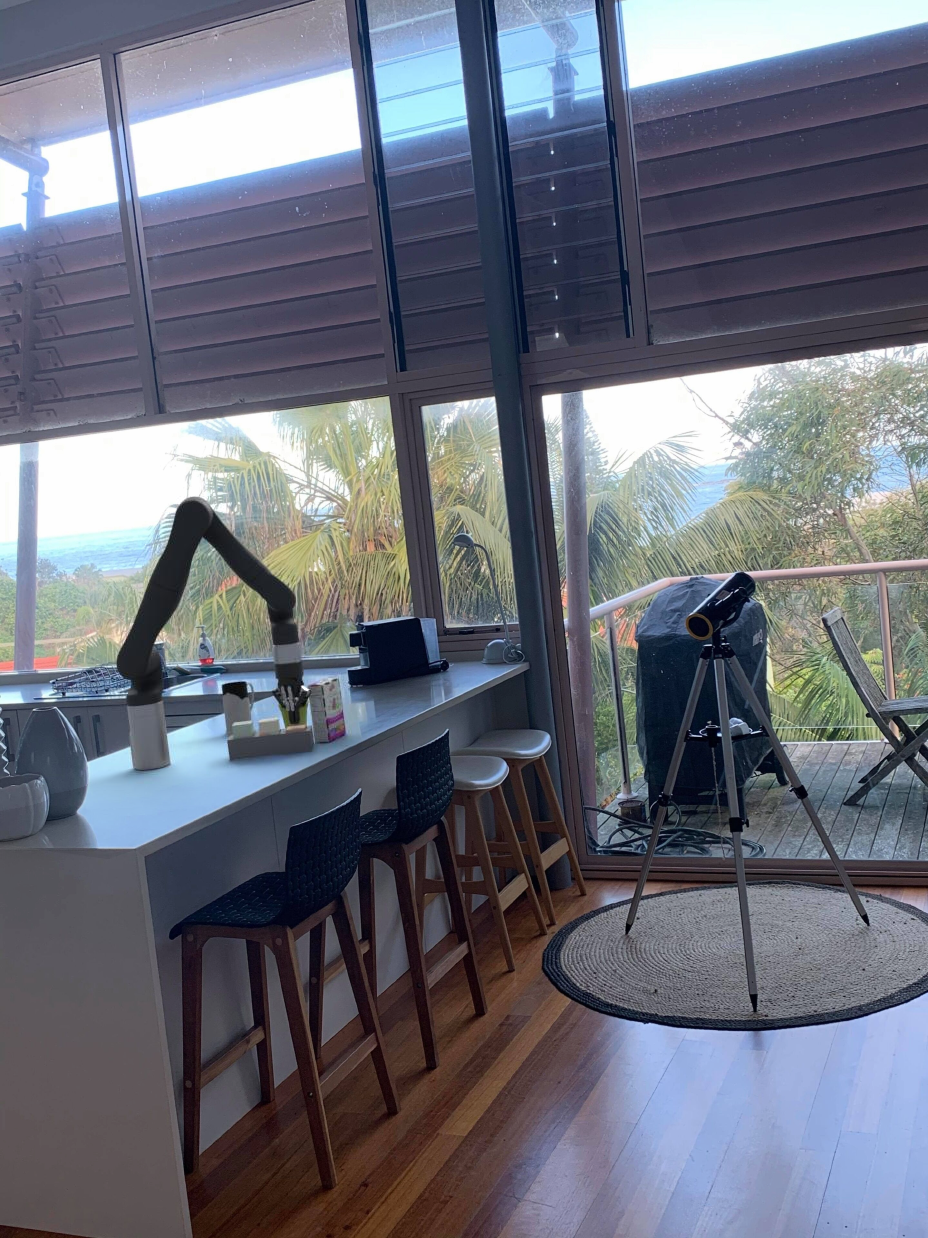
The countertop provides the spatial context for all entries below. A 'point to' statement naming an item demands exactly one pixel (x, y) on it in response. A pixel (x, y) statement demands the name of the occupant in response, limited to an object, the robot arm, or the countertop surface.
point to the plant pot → (302, 716)
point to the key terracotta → (296, 728)
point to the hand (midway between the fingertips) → (295, 723)
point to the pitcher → (236, 703)
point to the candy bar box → (326, 710)
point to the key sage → (243, 729)
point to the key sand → (269, 726)
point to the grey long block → (270, 744)
